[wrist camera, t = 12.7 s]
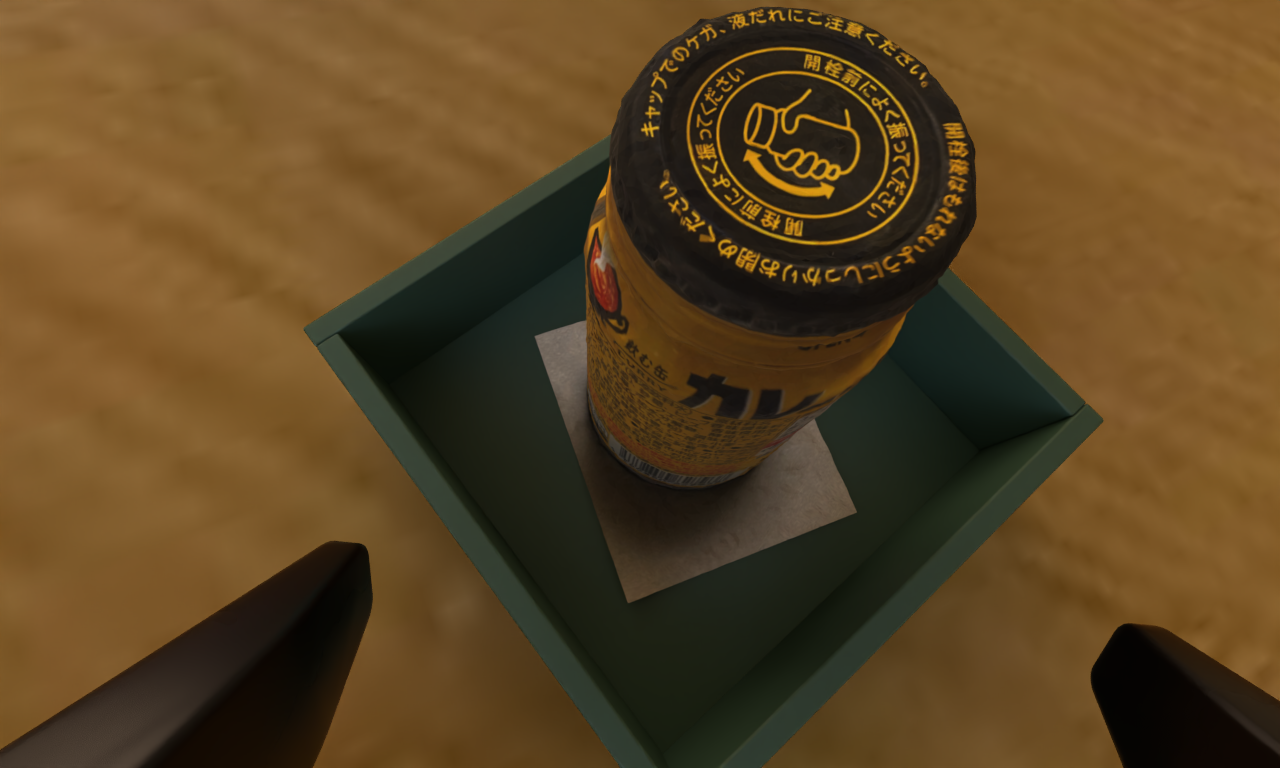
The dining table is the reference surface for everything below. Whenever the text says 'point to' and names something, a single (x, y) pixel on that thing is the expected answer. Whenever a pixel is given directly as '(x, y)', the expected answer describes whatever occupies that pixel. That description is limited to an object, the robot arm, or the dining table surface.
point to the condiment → (750, 279)
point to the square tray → (733, 593)
